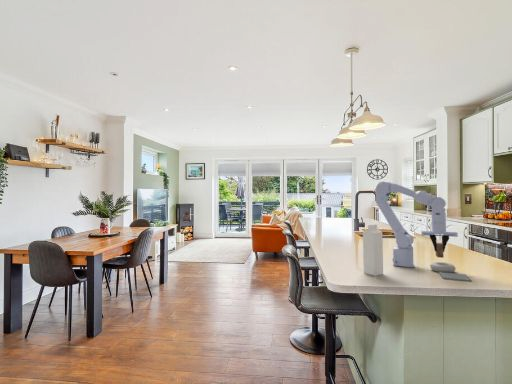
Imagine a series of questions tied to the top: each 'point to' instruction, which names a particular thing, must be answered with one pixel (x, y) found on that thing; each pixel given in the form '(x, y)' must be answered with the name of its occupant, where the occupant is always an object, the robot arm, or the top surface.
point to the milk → (373, 251)
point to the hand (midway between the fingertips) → (439, 251)
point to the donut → (442, 267)
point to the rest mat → (454, 276)
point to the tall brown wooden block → (439, 250)
